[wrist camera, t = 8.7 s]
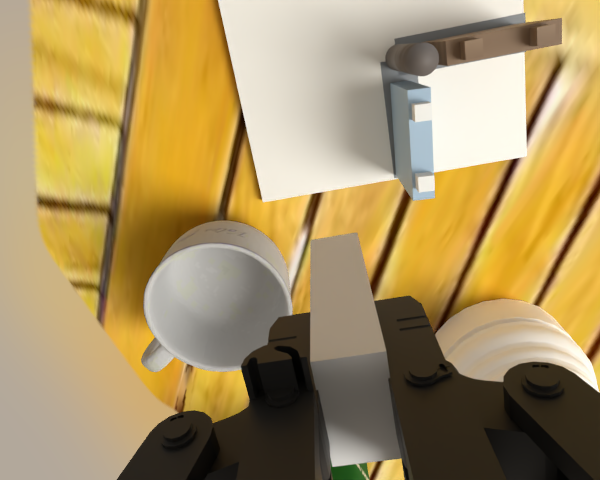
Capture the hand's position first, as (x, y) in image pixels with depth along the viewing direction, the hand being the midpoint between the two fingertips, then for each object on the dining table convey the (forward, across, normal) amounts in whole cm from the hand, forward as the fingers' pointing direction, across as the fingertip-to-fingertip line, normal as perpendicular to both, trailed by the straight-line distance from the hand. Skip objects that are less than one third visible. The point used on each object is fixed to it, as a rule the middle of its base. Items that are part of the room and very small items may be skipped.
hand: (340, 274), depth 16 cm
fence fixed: (+24, +10, +5) cm, 26 cm away
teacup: (+25, -11, -10) cm, 29 cm away
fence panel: (+24, +6, 0) cm, 24 cm away
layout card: (+24, +5, +4) cm, 25 cm away
